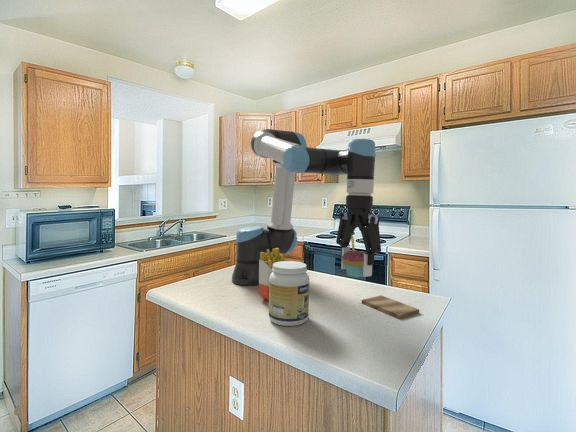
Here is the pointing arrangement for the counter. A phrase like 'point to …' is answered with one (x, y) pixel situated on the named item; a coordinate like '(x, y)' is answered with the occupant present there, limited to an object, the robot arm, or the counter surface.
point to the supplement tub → (288, 293)
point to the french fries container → (267, 270)
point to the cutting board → (390, 306)
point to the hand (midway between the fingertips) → (355, 272)
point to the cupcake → (353, 262)
